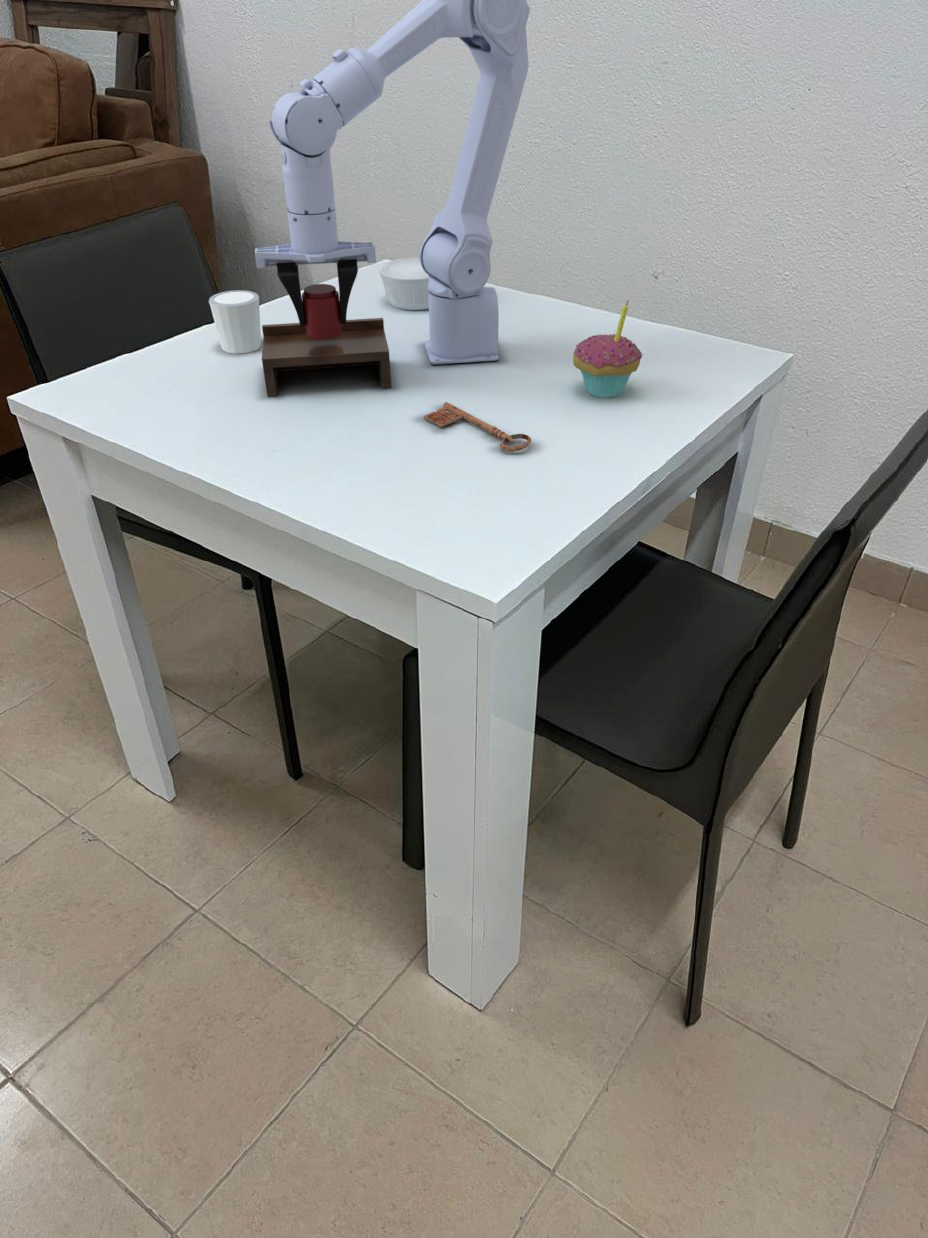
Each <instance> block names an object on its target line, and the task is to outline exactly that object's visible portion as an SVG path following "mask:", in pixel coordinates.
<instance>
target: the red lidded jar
mask: <svg viewBox="0 0 928 1238" xmlns="http://www.w3.org/2000/svg"><path fill="white" fill-rule="evenodd" d="M301 297H302V302H303V310H304V316H305V324H306V325H305V328H306V334H307V336H309V337H311V338H316V339H328V338H333V337H336V336H338V335H340V334H341V333H342V326H341V320H340V304H339V290H337V288H336V286H335V285H332V284H328V283H316V284H310V285H307V286H305V287H304V288H303V292H301Z"/></svg>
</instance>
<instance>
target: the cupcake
mask: <svg viewBox="0 0 928 1238" xmlns="http://www.w3.org/2000/svg"><path fill="white" fill-rule="evenodd" d="M629 302H630V299H627V300H626V303H625V304H624V305H622V308H621V312H620V317H619V319H618V323H617V328H616V331H615V333H613V334H611V333H610V334H596V335H591V336H588V337H587V338H585V339H584V340H582V341H580V342H579V343H578V344H576V345H575V349H574V351H573V355H572V356H573V357H572V358H573V359H572V360H573V362H572V365H573V367H575V368H576V369H577V370H579V371H580V373H581V376H582V378H583V383H584V385H585V386H584V387H585V391H586V392H587V394H589V395H590V396H593V397H596V398H601V399H610V398H615V397H616V398H617V397H619V396H621V395H622V394H623V393H624V390H625V388H626V385H627V383H628V381H629V380H630V379H629V378H630V377H631V375H632V373H636V371H638V369H639V367H640V363H641V359H642V358H643V353H642V352H641V350H640V348H639V347H638V346H637V344H636V343H634V342H633V340H631V339H629V338H627V337H625V336H622V333H623V329H624V325H625V322H626V319H627V318H626V317H627V314H628V308H629V306H628V304H629Z"/></svg>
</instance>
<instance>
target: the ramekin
mask: <svg viewBox="0 0 928 1238" xmlns="http://www.w3.org/2000/svg"><path fill="white" fill-rule="evenodd" d="M379 276H380V278H381V280H382V286H383V288H384V293H385V297H386V300H387V301H388V303H389V304H390V305H391V306H392V307H394V308H396V309H400V310H406V311H408V310H409V311H423V310H429V297H428V283H429V278H428V274H427V273H426V272H425V271H424V270H423V268H422V267H421V264H420V260H419V256H417V257H405V258H398V259H395V260H391V261H389V262H387V263H384V264H383V265H382V266H381V267H380V269H379Z"/></svg>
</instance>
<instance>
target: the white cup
mask: <svg viewBox="0 0 928 1238" xmlns="http://www.w3.org/2000/svg"><path fill="white" fill-rule="evenodd" d="M208 304H209V306H210V310H211V313H212V314H211V315H212V318H213V321H214V325H215V329H216V332H217V336H218V340H219V344H220V347H221V350H222V351H223V352H225V353H228V354H235V355H236V354H237V355H238V354H247V353H252V352H254V351H257V350H258V349H260V348H261V347H262V333H261V332H262V331H261V330H262V328H261V311H260V296H259V294H258V293H256V292H254V291H251V290H244V289H243V290H241V289H239V290H237V289H236V290H227V291H226V290H225V291H221V292H218V293H215V294H213V295H211V296H210V297H209V299H208Z"/></svg>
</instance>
